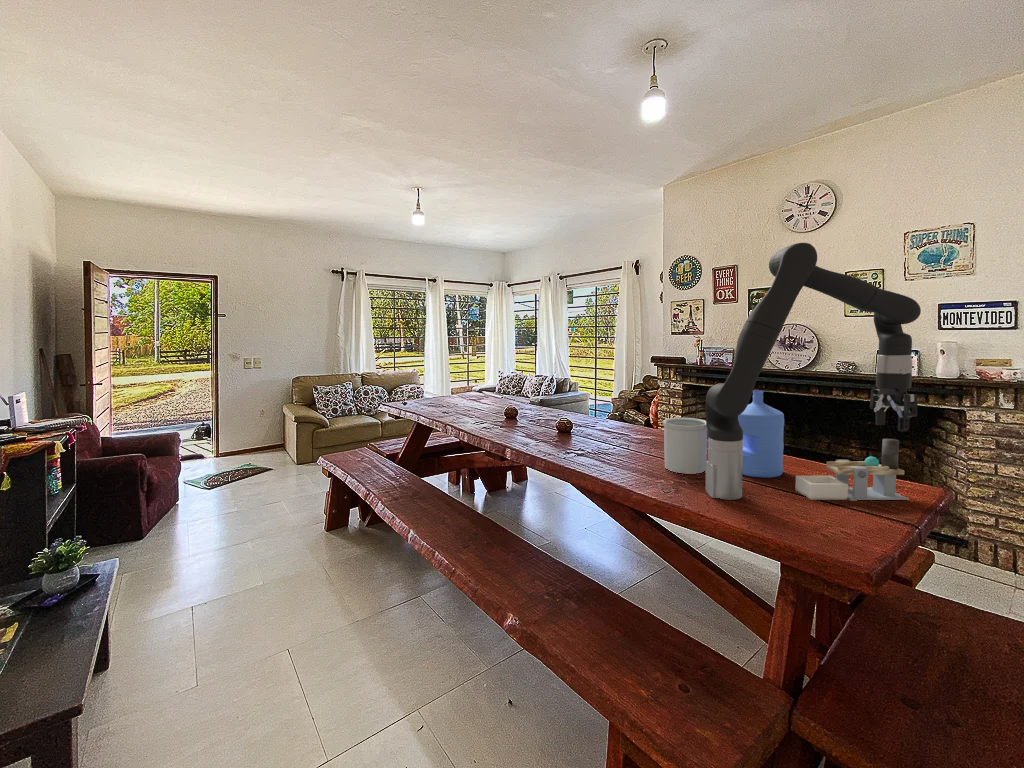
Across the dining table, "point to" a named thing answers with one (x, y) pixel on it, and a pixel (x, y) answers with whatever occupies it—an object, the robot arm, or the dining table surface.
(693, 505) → the dining table surface
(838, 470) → the lever
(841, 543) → the dining table surface
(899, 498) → the stand
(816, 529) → the dining table surface
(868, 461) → the ball
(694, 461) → the utensil holder
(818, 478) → the gray open tray
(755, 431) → the water jug
